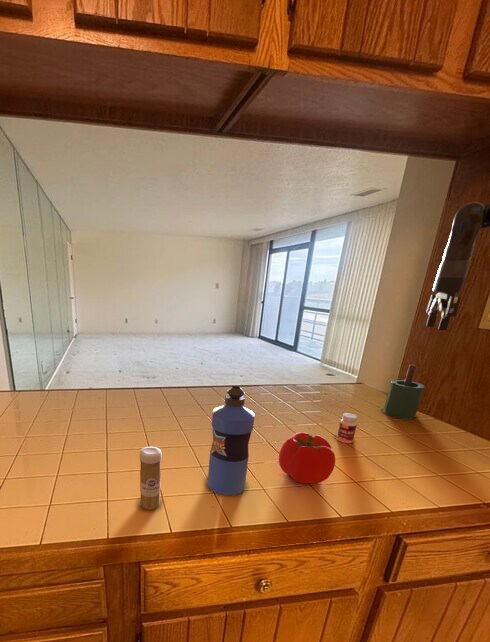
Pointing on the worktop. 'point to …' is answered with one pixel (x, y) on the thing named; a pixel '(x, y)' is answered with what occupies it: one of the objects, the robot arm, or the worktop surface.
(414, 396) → the jar
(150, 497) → the sprinkles bottle
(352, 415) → the pill bottle
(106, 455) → the worktop surface
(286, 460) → the tomato
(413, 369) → the brush
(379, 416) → the worktop surface
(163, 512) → the worktop surface
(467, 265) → the robot arm
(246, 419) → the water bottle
